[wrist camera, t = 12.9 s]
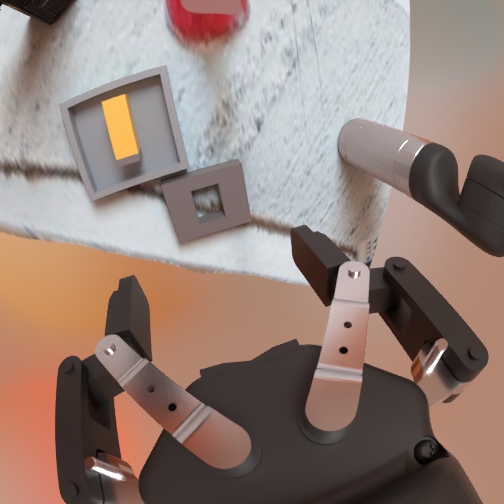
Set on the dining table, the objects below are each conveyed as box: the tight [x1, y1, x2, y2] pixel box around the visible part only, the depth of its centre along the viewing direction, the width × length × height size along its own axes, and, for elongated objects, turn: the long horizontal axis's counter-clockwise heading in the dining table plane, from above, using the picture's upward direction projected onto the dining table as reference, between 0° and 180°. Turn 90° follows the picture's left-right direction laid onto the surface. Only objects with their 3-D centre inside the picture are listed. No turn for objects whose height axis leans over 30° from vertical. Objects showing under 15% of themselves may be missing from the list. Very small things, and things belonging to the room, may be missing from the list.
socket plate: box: [161, 159, 251, 243], centre depth 42 cm, size 12×10×2 cm
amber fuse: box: [102, 94, 142, 168], centre depth 30 cm, size 3×4×9 cm
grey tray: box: [59, 65, 189, 202], centre depth 32 cm, size 15×15×3 cm
